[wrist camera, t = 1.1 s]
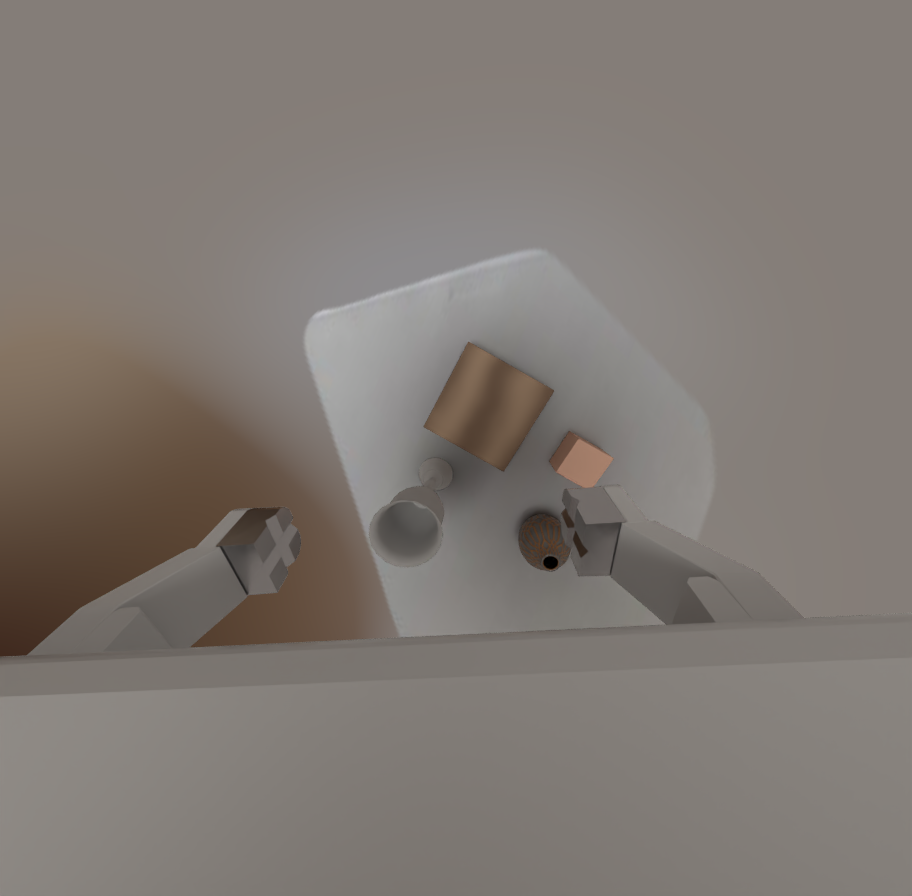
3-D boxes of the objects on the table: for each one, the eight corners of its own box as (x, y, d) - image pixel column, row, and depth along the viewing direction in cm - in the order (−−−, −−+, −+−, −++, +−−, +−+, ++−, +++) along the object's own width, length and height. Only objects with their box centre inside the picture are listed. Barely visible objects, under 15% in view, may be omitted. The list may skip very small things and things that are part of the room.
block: (600, 448, 45) (613, 458, 40) (579, 478, 47) (590, 491, 42) (569, 430, 45) (578, 438, 40) (549, 461, 46) (556, 472, 42)
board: (548, 388, 44) (554, 390, 40) (502, 463, 47) (503, 471, 43) (470, 343, 44) (468, 341, 40) (428, 421, 47) (423, 426, 43)
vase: (557, 502, 48) (572, 531, 39) (569, 544, 49) (585, 581, 41) (511, 514, 49) (515, 544, 40) (523, 554, 50) (530, 592, 42)
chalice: (440, 441, 47) (411, 485, 30) (469, 478, 48) (457, 541, 31) (402, 470, 49) (353, 528, 31) (431, 505, 50) (399, 579, 32)
